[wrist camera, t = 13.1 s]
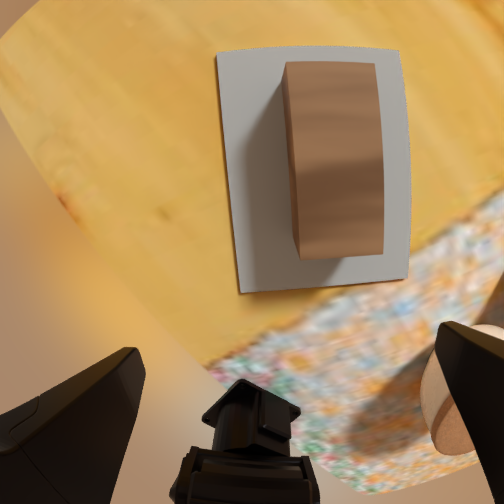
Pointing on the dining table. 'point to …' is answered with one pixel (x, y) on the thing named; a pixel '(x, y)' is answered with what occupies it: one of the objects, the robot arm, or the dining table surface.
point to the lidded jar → (446, 405)
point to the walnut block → (334, 158)
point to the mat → (277, 172)
